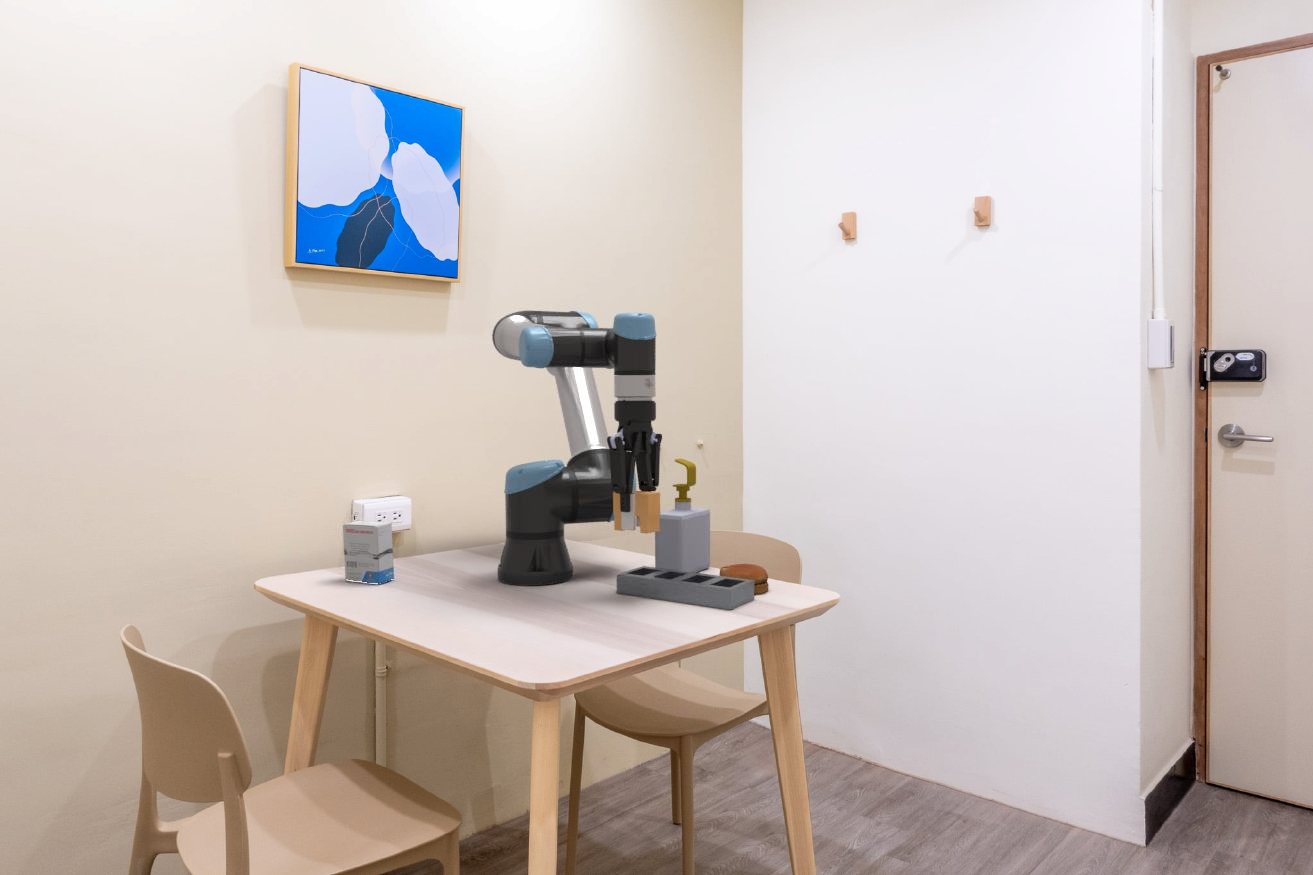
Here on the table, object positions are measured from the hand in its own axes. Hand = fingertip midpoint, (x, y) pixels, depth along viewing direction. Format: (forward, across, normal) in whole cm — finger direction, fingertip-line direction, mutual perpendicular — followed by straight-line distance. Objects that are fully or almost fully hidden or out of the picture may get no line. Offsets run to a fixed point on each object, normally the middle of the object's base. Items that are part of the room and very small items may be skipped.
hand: (636, 528), depth 161 cm
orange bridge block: (0, 0, 0) cm, 0 cm away
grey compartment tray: (+13, +6, -7) cm, 15 cm away
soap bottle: (+13, +23, +6) cm, 27 cm away
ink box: (+13, -21, +51) cm, 57 cm away
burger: (+13, +16, -13) cm, 25 cm away
